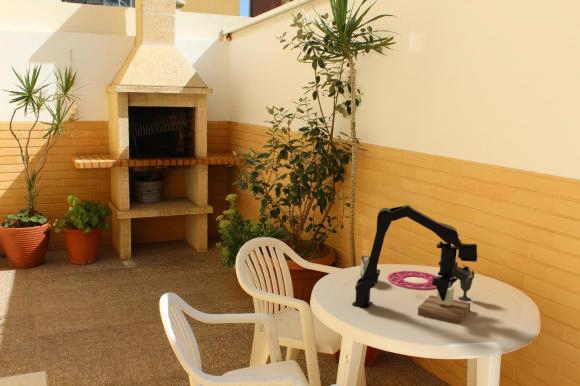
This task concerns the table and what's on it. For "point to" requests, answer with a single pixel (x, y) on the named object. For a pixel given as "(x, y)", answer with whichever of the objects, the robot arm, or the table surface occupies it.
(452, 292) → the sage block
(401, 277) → the trivet
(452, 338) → the table surface
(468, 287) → the sundae
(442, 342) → the table surface
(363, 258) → the food container
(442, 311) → the walnut base
